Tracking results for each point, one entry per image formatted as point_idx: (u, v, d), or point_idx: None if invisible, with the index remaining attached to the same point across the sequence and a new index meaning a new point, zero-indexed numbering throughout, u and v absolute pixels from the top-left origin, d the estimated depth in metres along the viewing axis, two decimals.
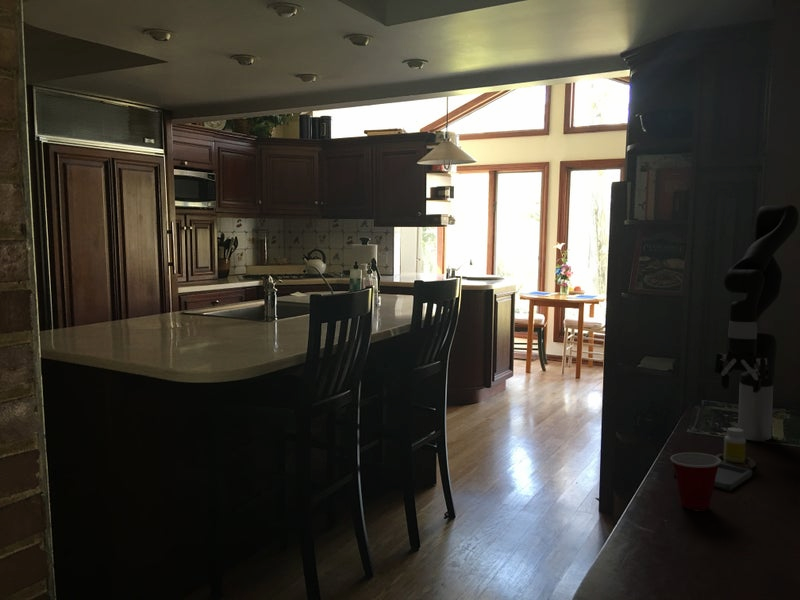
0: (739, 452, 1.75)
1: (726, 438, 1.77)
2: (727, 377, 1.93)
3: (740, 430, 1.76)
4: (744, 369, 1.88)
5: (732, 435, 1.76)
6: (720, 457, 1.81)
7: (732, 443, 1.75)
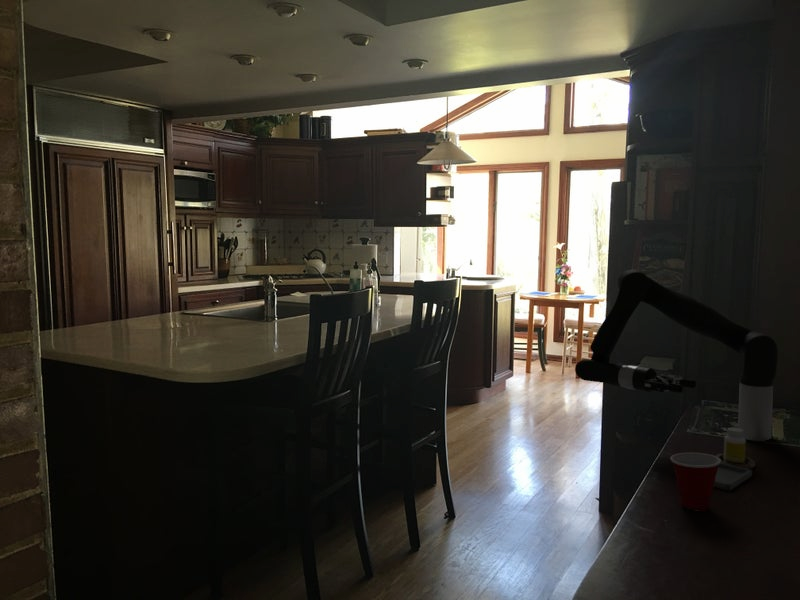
0: (738, 452, 1.75)
1: (726, 438, 1.77)
2: (684, 382, 1.91)
3: (740, 430, 1.76)
4: None
5: (732, 435, 1.76)
6: (720, 457, 1.81)
7: (732, 443, 1.75)
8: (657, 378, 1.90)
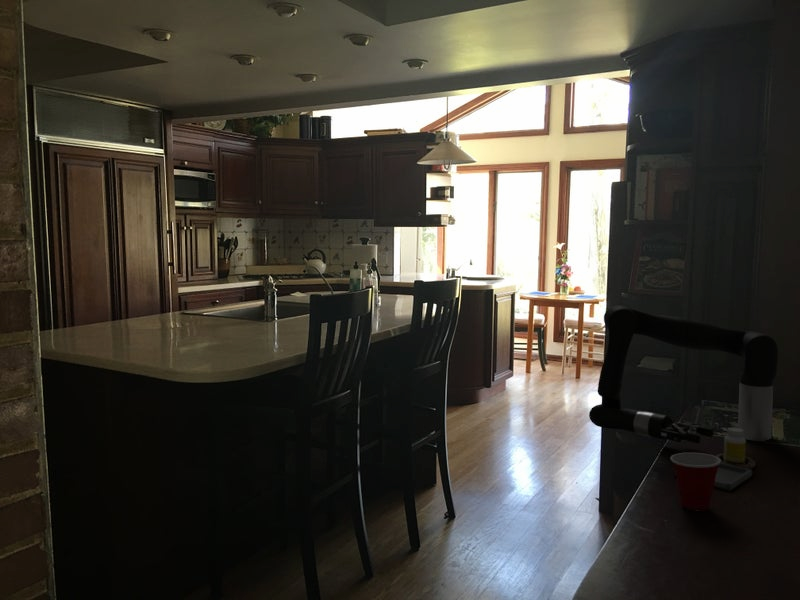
0: (739, 452, 1.75)
1: (726, 438, 1.77)
2: (700, 431, 1.88)
3: (740, 430, 1.76)
4: None
5: (732, 435, 1.76)
6: (720, 457, 1.81)
7: (732, 443, 1.75)
8: (673, 427, 1.88)
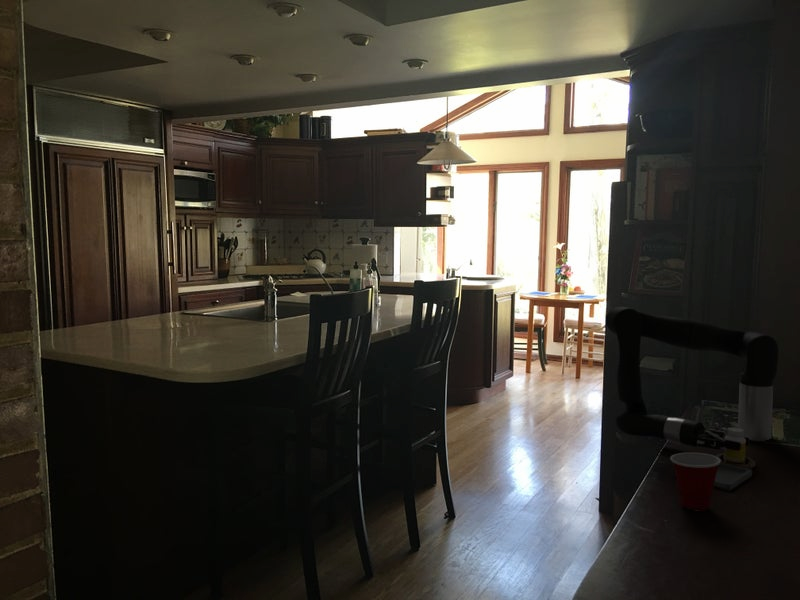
0: (739, 452, 1.75)
1: (726, 438, 1.77)
2: None
3: (740, 430, 1.76)
4: None
5: (732, 435, 1.76)
6: (720, 457, 1.81)
7: None
8: (708, 434, 1.80)
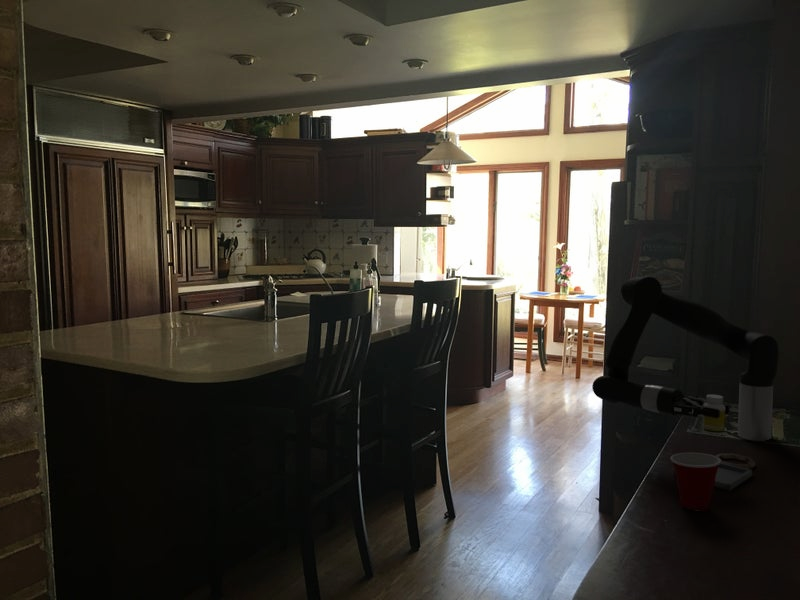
0: (717, 419, 1.65)
1: (705, 405, 1.67)
2: None
3: (719, 397, 1.66)
4: None
5: (711, 402, 1.66)
6: (720, 457, 1.81)
7: None
8: (686, 401, 1.71)
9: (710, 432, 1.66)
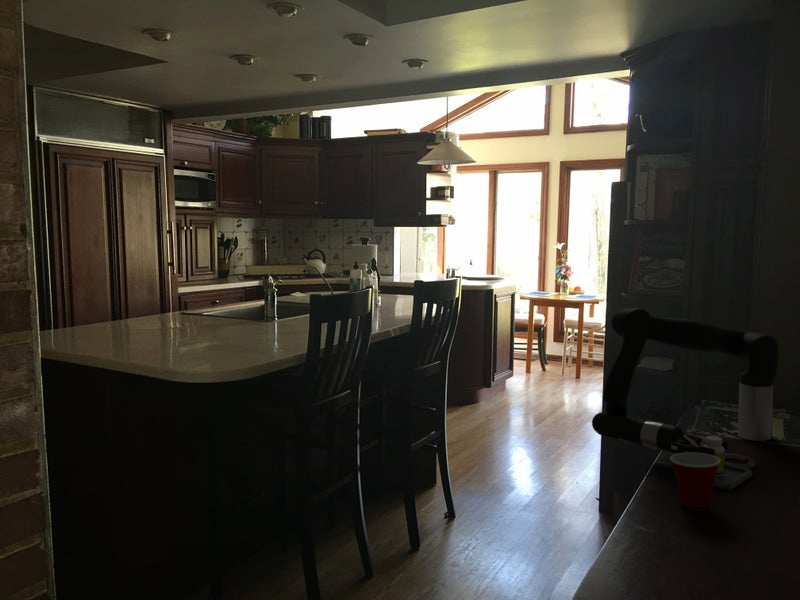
0: None
1: None
2: None
3: (719, 439, 1.67)
4: None
5: (710, 444, 1.67)
6: None
7: None
8: (685, 439, 1.71)
9: None
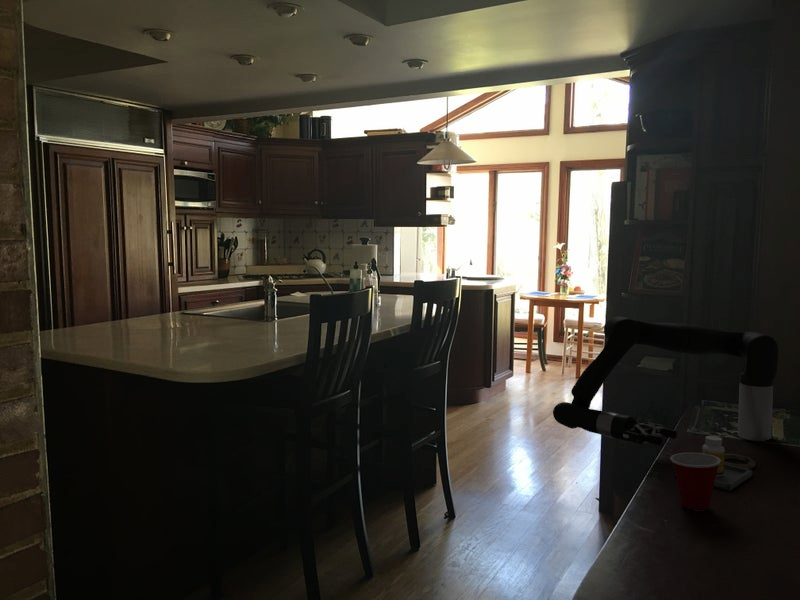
0: None
1: (704, 447, 1.68)
2: (664, 432, 1.82)
3: (719, 439, 1.67)
4: None
5: (710, 444, 1.67)
6: None
7: (710, 452, 1.66)
8: (636, 428, 1.82)
9: None
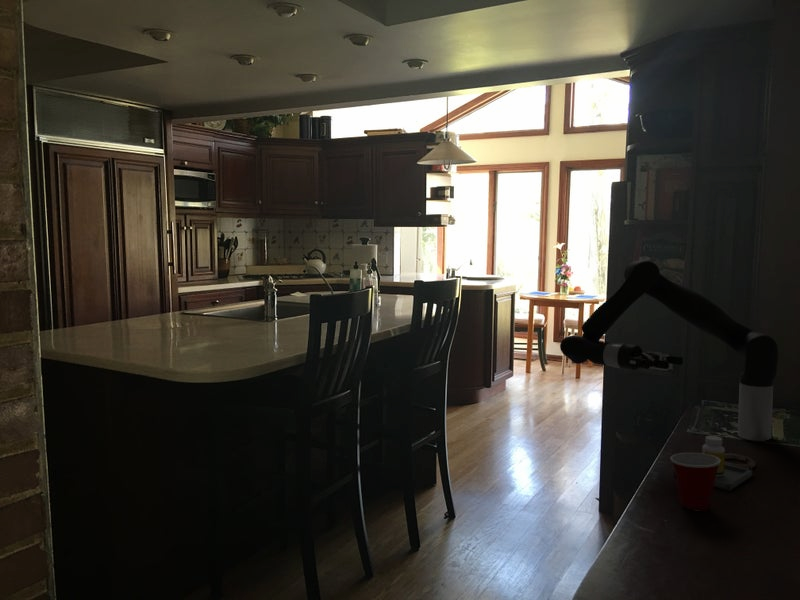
0: None
1: (704, 447, 1.68)
2: (670, 359, 1.84)
3: (719, 439, 1.67)
4: None
5: (710, 444, 1.67)
6: None
7: (710, 452, 1.66)
8: (643, 355, 1.84)
9: None
